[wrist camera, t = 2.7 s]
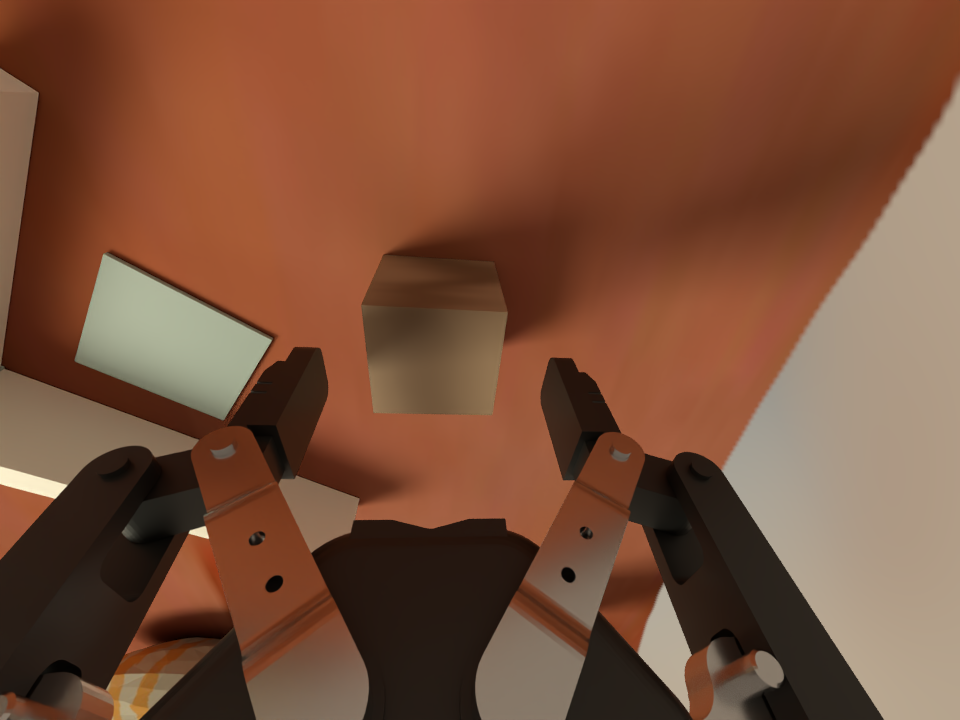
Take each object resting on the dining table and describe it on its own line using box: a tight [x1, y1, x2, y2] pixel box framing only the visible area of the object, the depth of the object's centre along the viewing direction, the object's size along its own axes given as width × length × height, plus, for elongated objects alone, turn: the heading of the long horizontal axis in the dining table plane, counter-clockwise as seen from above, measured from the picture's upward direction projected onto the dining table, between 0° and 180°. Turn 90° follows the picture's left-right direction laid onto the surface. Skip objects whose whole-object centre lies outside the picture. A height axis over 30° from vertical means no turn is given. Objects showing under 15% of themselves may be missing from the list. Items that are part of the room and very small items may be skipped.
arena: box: [0, 69, 359, 553], centre depth 17 cm, size 22×16×5 cm
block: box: [361, 255, 508, 415], centre depth 16 cm, size 5×5×5 cm
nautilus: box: [106, 637, 221, 720], centre depth 39 cm, size 8×22×15 cm
